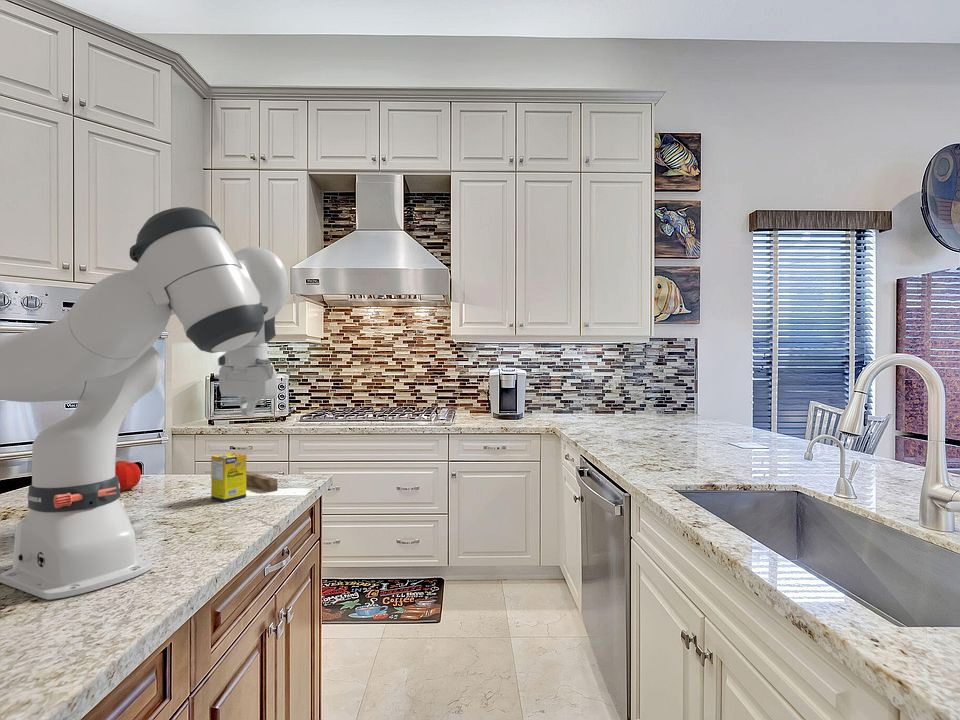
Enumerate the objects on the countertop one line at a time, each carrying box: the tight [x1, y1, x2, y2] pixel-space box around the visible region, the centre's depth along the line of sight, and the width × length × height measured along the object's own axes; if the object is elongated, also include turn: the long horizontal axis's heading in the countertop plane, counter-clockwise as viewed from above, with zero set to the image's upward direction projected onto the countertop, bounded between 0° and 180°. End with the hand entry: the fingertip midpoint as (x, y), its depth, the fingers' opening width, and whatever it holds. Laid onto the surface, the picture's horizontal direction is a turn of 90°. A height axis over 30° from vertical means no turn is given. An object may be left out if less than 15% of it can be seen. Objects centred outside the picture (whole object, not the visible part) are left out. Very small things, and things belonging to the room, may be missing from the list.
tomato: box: [115, 460, 142, 493], centre depth 131 cm, size 11×11×8 cm
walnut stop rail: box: [246, 470, 278, 493], centre depth 136 cm, size 16×2×3 cm, turn 55°
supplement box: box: [210, 452, 247, 503], centre depth 124 cm, size 6×6×11 cm
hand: (247, 415), depth 119 cm, fingers closed
